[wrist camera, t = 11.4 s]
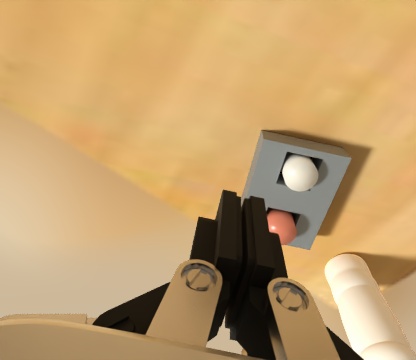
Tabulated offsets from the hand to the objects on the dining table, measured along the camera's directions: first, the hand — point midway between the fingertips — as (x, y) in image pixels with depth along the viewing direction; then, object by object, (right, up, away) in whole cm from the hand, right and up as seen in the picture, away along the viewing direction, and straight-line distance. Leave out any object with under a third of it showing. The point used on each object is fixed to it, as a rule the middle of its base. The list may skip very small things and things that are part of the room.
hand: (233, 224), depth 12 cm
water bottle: (+23, -14, +41) cm, 49 cm away
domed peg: (+12, +4, +32) cm, 34 cm away
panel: (+11, +1, +35) cm, 36 cm away
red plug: (+10, -4, +35) cm, 37 cm away
